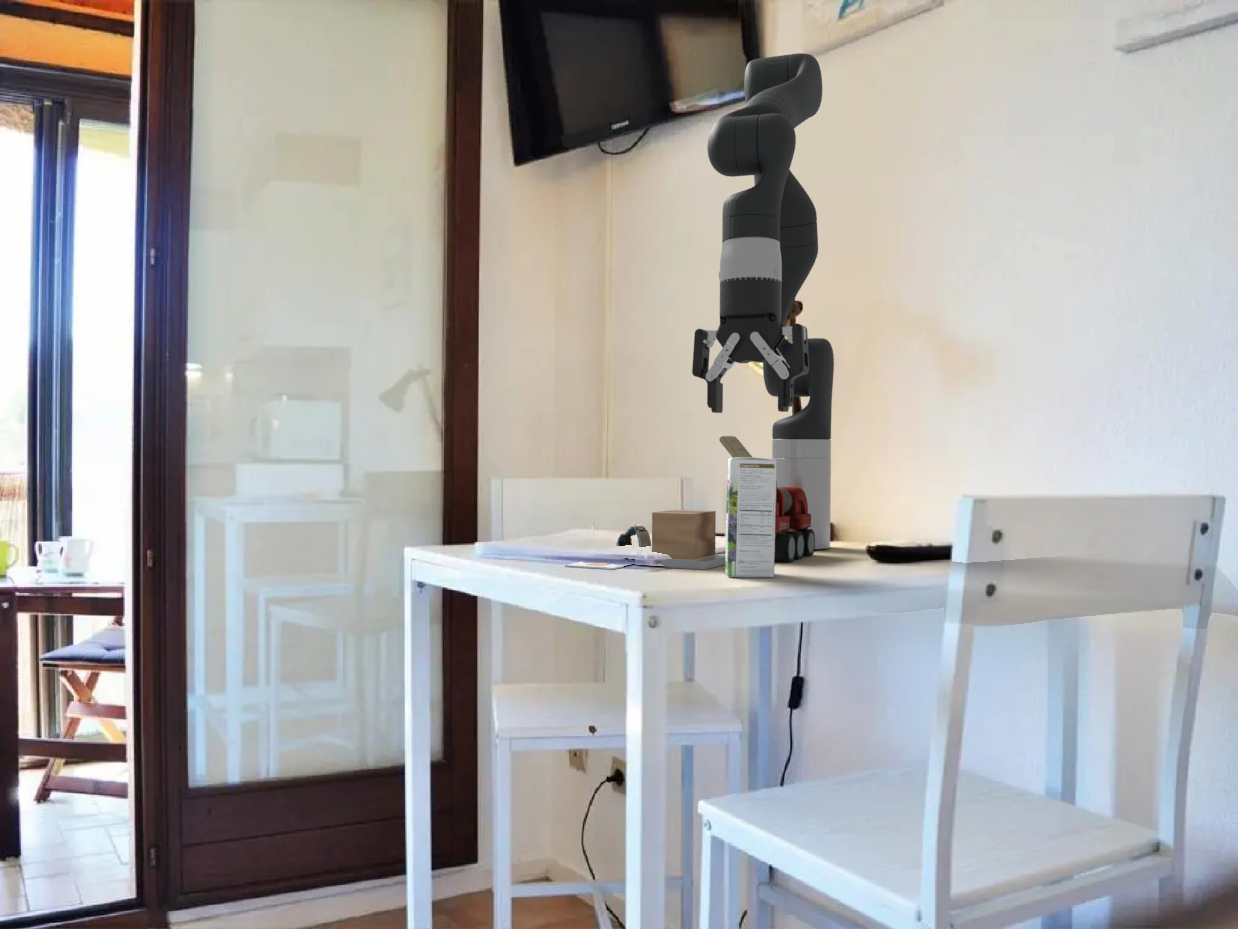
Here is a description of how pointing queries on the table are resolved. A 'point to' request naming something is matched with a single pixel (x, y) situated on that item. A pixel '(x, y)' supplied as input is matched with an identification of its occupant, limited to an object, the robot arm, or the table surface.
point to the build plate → (695, 562)
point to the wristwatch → (641, 535)
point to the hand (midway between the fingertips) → (749, 412)
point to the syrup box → (750, 517)
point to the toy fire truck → (784, 514)
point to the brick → (684, 533)
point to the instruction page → (595, 565)
